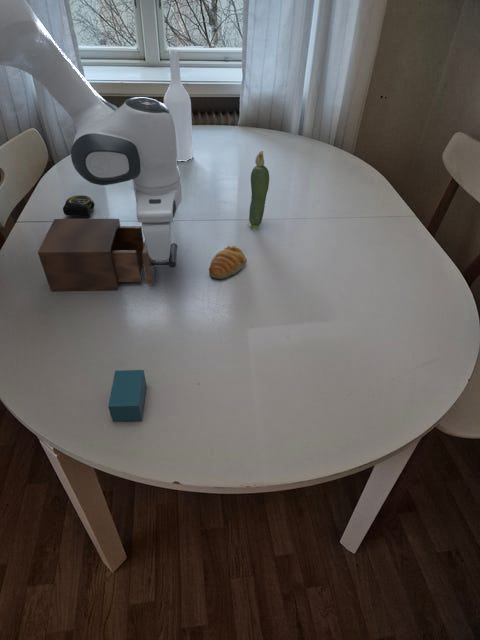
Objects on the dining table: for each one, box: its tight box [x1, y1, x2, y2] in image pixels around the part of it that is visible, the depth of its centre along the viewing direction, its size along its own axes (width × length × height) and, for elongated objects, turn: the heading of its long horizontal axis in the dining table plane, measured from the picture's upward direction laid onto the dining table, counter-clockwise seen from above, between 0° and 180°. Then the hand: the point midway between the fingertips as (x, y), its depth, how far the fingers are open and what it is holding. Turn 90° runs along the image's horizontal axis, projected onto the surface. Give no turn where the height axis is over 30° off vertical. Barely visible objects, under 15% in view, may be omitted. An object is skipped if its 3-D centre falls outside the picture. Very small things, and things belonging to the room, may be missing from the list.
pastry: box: [208, 245, 248, 280], centre depth 94 cm, size 9×7×4 cm
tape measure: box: [62, 194, 95, 218], centre depth 111 cm, size 7×7×4 cm
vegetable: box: [248, 150, 270, 230], centre depth 102 cm, size 4×4×20 cm
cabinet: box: [37, 218, 121, 292], centre depth 90 cm, size 14×13×10 cm
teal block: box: [107, 369, 147, 423], centre depth 68 cm, size 7×4×4 cm, turn 3°
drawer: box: [111, 225, 179, 285], centre depth 91 cm, size 18×11×8 cm, turn 93°
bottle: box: [163, 49, 194, 163], centre depth 129 cm, size 8×8×30 cm
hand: (166, 252), depth 91 cm, fingers closed, pressing on drawer
